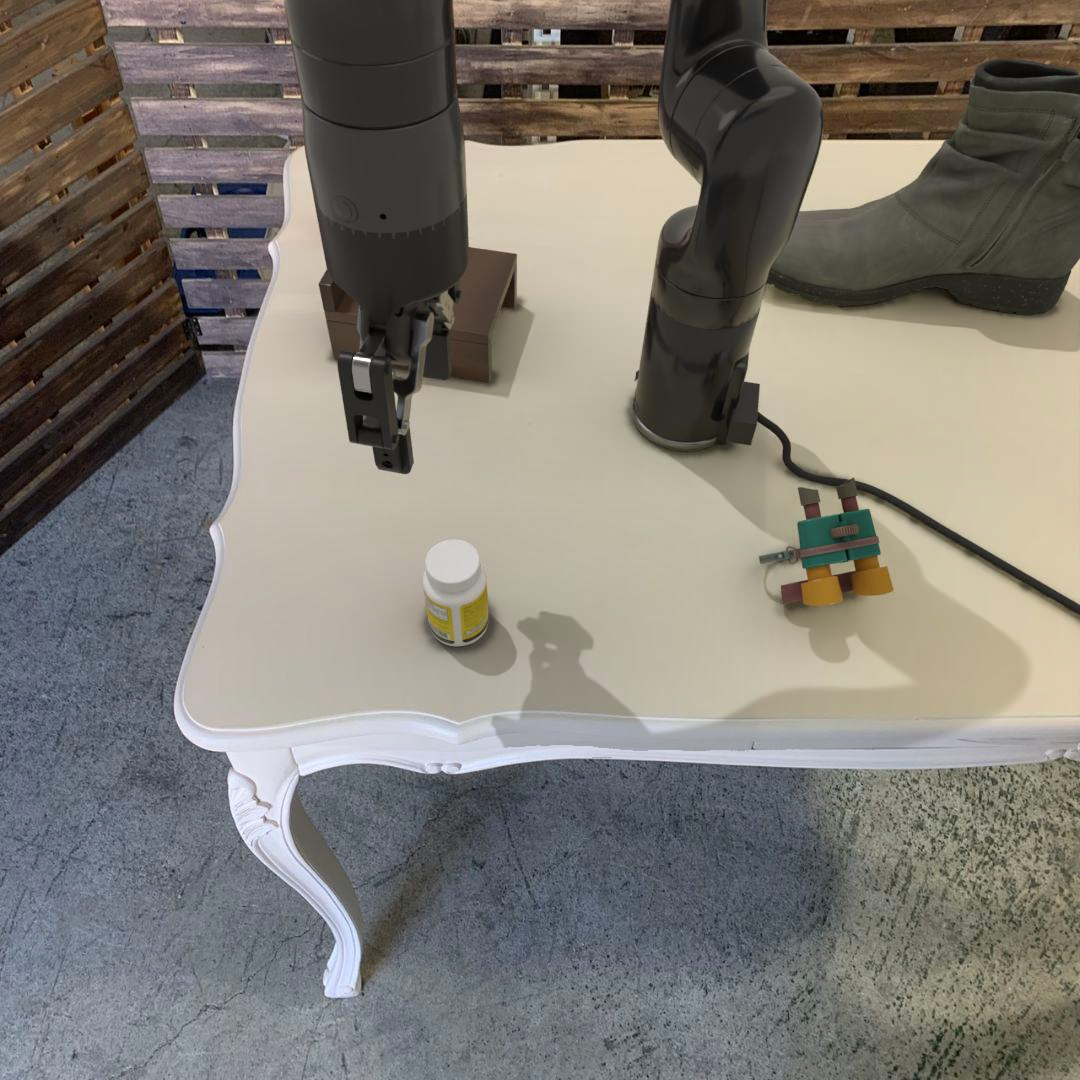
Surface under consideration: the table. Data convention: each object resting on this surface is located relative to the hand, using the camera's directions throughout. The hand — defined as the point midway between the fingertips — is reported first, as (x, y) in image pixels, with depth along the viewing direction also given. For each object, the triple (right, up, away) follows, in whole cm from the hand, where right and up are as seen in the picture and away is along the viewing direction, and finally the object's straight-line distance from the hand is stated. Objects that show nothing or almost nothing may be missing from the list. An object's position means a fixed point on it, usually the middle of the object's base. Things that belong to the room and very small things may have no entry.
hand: (416, 419), depth 57 cm
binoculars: (+31, -12, +17) cm, 37 cm away
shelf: (-4, +14, +36) cm, 39 cm away
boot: (+48, +21, +43) cm, 67 cm away
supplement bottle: (+1, -14, +15) cm, 21 cm away
